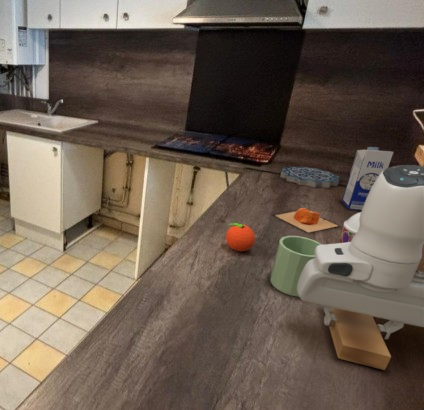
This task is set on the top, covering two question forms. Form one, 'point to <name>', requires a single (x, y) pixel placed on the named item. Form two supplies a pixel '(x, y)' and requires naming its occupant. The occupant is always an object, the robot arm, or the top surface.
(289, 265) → the cup
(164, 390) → the top surface
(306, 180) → the decorative tile
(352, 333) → the wooden block
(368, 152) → the milk carton
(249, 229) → the clementine
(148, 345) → the top surface
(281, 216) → the salmon on cutting board
